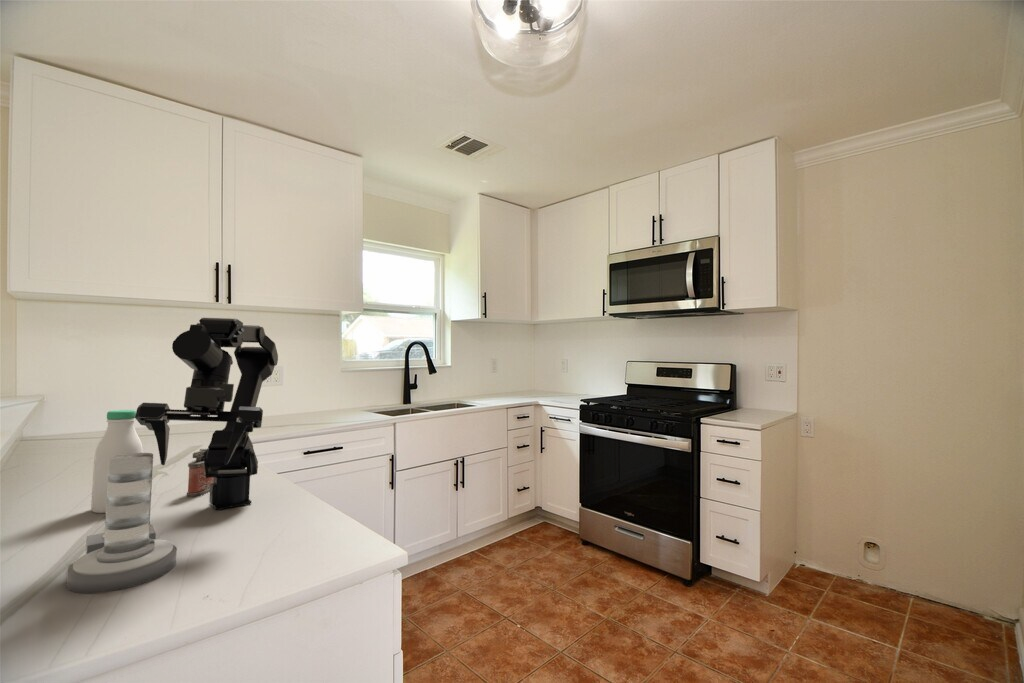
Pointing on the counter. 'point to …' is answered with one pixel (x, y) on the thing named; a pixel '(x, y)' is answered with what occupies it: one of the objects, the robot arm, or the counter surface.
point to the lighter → (198, 476)
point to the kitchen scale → (119, 567)
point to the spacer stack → (128, 508)
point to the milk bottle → (112, 452)
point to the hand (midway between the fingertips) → (195, 464)
